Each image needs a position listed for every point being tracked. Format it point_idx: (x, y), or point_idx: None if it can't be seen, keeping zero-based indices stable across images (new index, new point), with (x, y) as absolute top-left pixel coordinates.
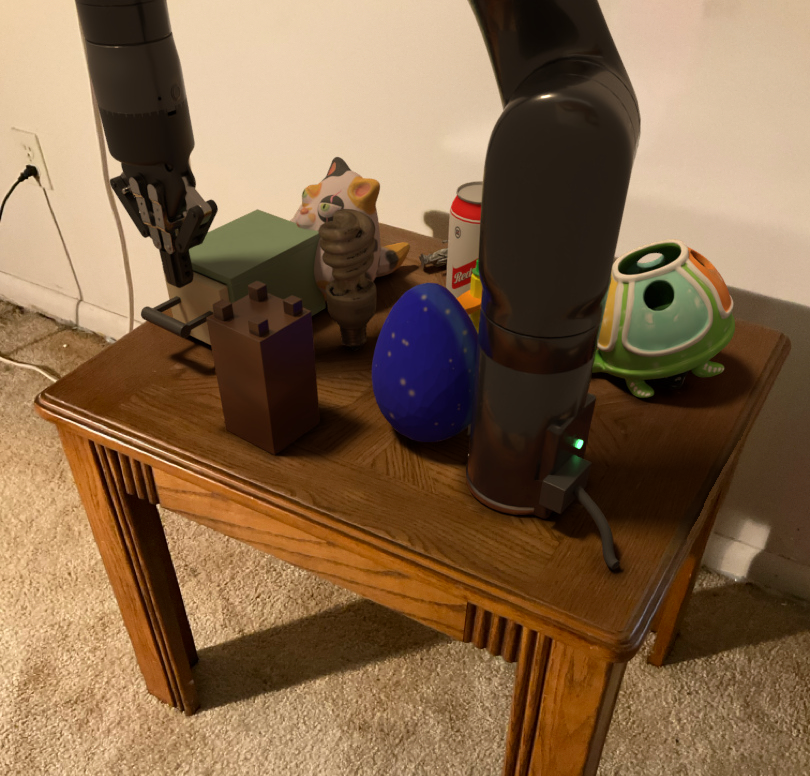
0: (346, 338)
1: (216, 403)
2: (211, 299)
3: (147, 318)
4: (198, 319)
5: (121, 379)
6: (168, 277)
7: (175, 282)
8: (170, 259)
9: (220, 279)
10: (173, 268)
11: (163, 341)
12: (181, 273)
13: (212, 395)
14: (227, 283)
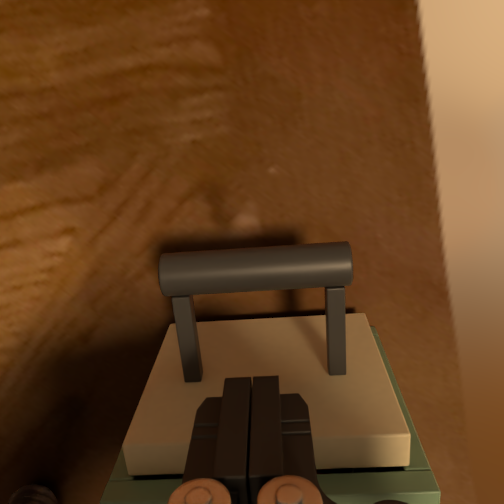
0: (18, 499)
1: (49, 185)
2: (176, 411)
3: (315, 245)
4: (179, 334)
5: (309, 85)
6: (264, 391)
7: (225, 387)
8: (215, 456)
9: (156, 486)
10: (218, 428)
11: (368, 267)
12: (193, 427)
13: (84, 200)
14: (122, 483)
